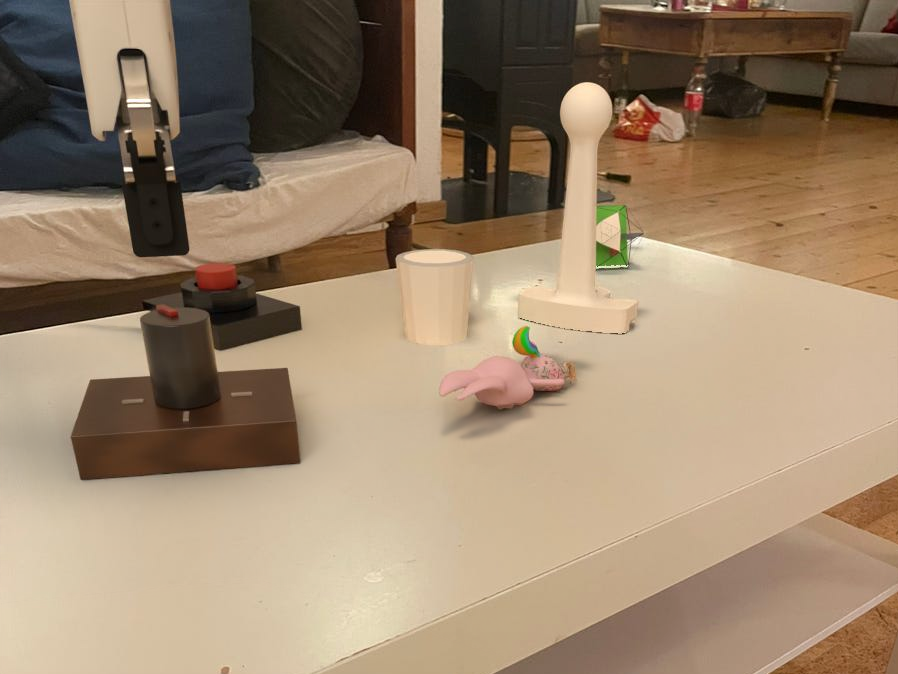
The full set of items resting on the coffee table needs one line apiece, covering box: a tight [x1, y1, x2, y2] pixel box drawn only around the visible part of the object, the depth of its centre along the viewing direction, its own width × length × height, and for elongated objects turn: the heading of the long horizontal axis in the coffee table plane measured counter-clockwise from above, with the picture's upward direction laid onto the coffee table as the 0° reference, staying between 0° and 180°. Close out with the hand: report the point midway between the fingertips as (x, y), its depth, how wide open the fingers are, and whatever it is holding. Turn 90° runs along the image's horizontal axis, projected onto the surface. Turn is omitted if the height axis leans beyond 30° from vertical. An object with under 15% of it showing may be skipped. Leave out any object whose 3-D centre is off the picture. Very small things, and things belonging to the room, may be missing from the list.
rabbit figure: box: [438, 325, 578, 411], centre depth 74 cm, size 6×6×15 cm
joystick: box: [517, 81, 639, 335], centre depth 90 cm, size 11×8×20 cm
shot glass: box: [395, 248, 475, 346], centre depth 88 cm, size 7×7×7 cm
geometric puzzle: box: [596, 204, 646, 267], centre depth 111 cm, size 7×7×8 cm
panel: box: [70, 367, 301, 481], centre depth 68 cm, size 14×11×3 cm
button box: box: [141, 274, 303, 352], centre depth 91 cm, size 12×9×4 cm
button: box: [194, 262, 238, 289], centre depth 90 cm, size 4×4×2 cm
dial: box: [139, 304, 221, 409], centre depth 66 cm, size 4×4×6 cm
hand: (159, 237), depth 62 cm, fingers open, 9 cm apart
